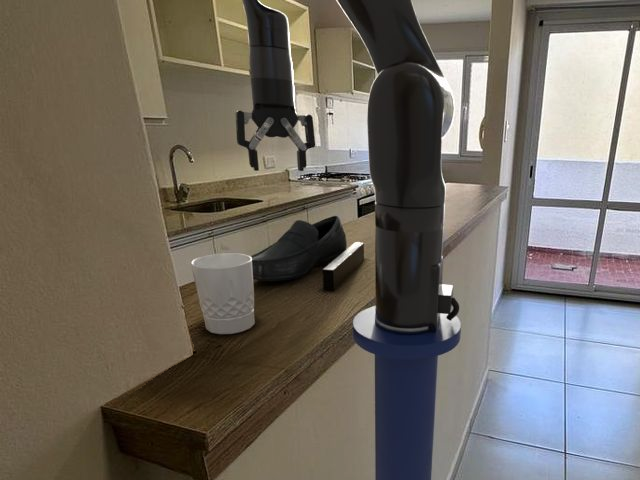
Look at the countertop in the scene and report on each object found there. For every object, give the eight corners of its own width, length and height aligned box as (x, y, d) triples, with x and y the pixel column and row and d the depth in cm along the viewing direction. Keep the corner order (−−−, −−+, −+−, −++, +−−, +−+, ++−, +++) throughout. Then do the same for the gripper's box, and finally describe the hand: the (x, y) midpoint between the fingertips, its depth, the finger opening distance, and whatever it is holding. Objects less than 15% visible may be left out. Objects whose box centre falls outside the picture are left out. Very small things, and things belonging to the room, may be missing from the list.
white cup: (263, 314, 70) (256, 252, 67) (253, 335, 63) (245, 267, 59) (210, 315, 69) (200, 252, 65) (194, 337, 62) (182, 268, 58)
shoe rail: (364, 259, 102) (363, 242, 100) (334, 291, 82) (333, 270, 80) (355, 259, 102) (355, 242, 100) (323, 290, 82) (322, 269, 80)
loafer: (231, 287, 82) (223, 232, 78) (314, 251, 107) (311, 208, 103) (279, 295, 79) (274, 238, 75) (353, 256, 104) (352, 212, 100)
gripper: (232, 72, 75) (243, 172, 82) (316, 80, 82) (319, 172, 88) (228, 75, 82) (238, 168, 88) (306, 82, 88) (310, 168, 94)
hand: (279, 170), depth 88 cm, fingers open, 8 cm apart
